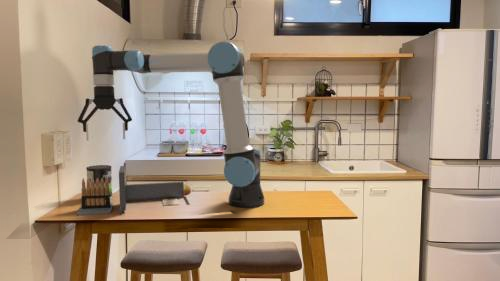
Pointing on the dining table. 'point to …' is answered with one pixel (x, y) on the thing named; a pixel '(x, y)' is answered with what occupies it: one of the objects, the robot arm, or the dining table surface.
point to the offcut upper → (170, 202)
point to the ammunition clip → (91, 199)
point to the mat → (95, 210)
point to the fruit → (186, 189)
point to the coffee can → (100, 175)
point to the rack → (147, 191)
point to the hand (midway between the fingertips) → (106, 139)
